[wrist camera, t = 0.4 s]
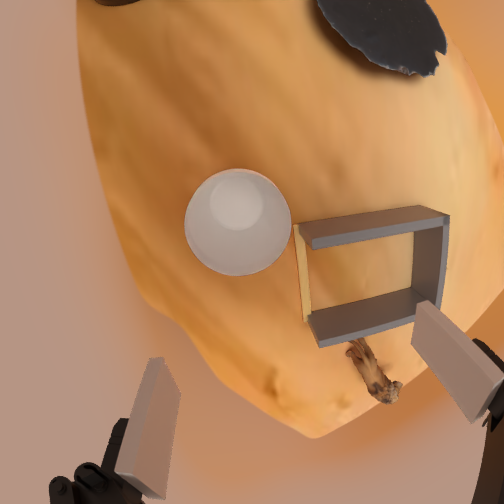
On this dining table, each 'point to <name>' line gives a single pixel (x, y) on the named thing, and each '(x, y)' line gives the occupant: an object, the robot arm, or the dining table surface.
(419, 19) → the board
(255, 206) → the cup
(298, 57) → the dining table surface
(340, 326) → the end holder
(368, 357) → the lion figurine
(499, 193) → the dining table surface
